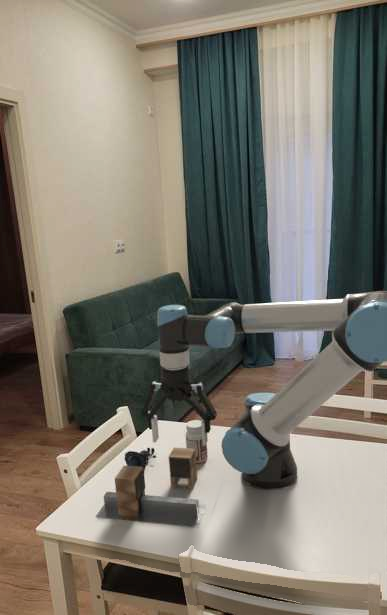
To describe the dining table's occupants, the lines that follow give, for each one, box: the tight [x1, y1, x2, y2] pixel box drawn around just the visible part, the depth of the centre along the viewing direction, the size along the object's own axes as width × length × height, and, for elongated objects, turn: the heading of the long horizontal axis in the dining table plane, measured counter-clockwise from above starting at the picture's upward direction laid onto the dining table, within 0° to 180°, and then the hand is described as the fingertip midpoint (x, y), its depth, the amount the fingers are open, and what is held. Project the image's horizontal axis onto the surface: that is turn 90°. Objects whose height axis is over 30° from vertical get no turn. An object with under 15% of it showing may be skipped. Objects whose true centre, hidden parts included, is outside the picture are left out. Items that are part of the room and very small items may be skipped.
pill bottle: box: [185, 419, 208, 464], centre depth 144 cm, size 6×6×11 cm
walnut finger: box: [168, 447, 198, 490], centre depth 130 cm, size 5×6×10 cm
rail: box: [95, 491, 207, 529], centre depth 120 cm, size 26×9×4 cm, turn 76°
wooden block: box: [114, 465, 146, 517], centre depth 120 cm, size 5×6×10 cm
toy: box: [124, 447, 157, 469], centre depth 144 cm, size 8×7×15 cm
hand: (180, 441), depth 129 cm, fingers open, 13 cm apart
